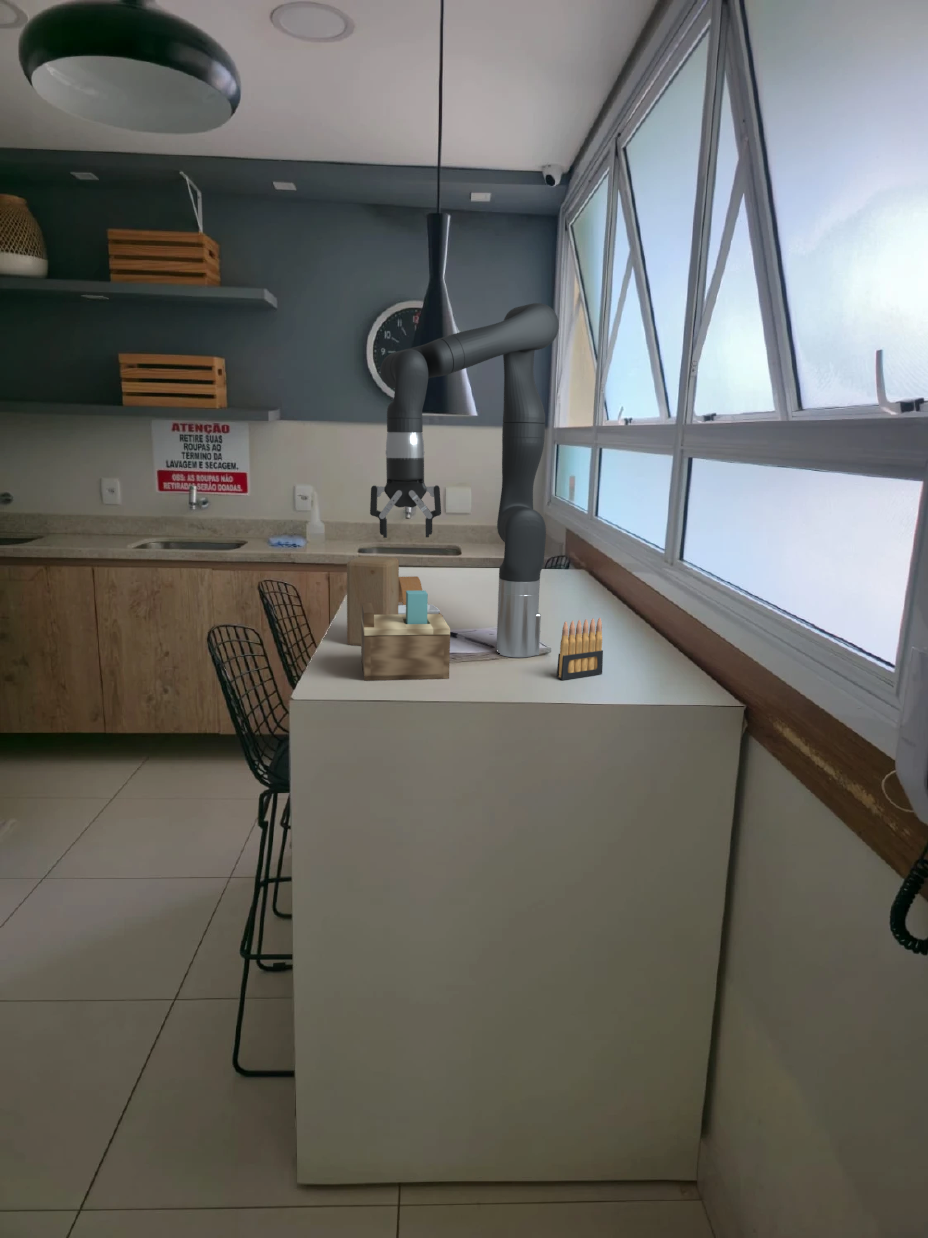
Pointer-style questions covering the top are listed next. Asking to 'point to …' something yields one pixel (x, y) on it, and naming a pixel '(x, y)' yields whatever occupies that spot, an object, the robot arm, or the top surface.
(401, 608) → the soap dish
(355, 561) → the wooden block
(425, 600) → the teal block
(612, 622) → the top surface
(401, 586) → the arch
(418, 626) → the lid
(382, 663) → the wooden box
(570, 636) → the ammunition clip
